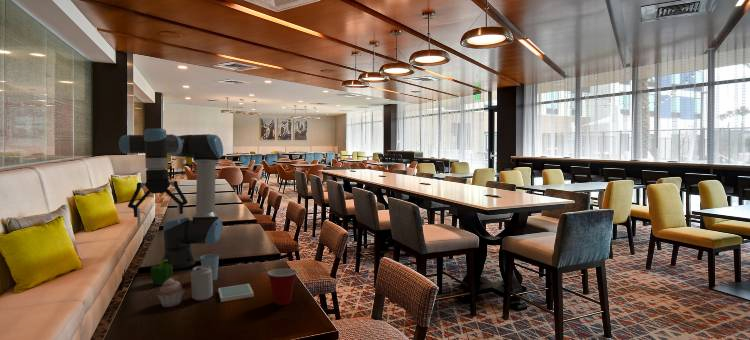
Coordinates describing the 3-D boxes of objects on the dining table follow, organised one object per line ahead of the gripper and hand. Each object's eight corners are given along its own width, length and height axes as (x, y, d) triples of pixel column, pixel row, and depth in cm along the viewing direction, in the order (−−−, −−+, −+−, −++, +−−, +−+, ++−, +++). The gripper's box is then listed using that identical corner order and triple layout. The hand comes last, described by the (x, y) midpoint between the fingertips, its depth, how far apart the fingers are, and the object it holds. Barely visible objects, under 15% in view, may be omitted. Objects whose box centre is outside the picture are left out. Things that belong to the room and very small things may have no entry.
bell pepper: (150, 288, 170) (149, 264, 170) (151, 282, 178) (150, 259, 177) (172, 285, 174) (171, 261, 173) (173, 279, 181) (172, 257, 181)
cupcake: (188, 298, 158) (187, 273, 157) (181, 308, 149) (180, 281, 148) (162, 300, 156) (161, 274, 156) (153, 310, 147) (152, 282, 147)
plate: (218, 291, 165) (218, 287, 165) (249, 287, 170) (249, 283, 170) (220, 302, 154) (220, 297, 154) (253, 296, 159) (253, 292, 159)
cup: (218, 275, 186) (217, 252, 185) (221, 280, 179) (220, 256, 178) (200, 278, 182) (199, 255, 181) (202, 283, 175) (201, 259, 174)
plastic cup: (303, 298, 156) (302, 267, 155) (288, 309, 146) (287, 276, 145) (278, 295, 160) (277, 265, 159) (262, 306, 150) (261, 273, 149)
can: (196, 294, 162) (194, 264, 161) (215, 293, 163) (214, 264, 162) (189, 301, 155) (187, 270, 154) (209, 301, 155) (208, 269, 155)
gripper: (117, 170, 148) (120, 228, 150) (192, 168, 159) (195, 222, 160) (120, 169, 155) (123, 225, 157) (192, 167, 166) (194, 219, 167)
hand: (159, 224), depth 158 cm, fingers open, 13 cm apart
